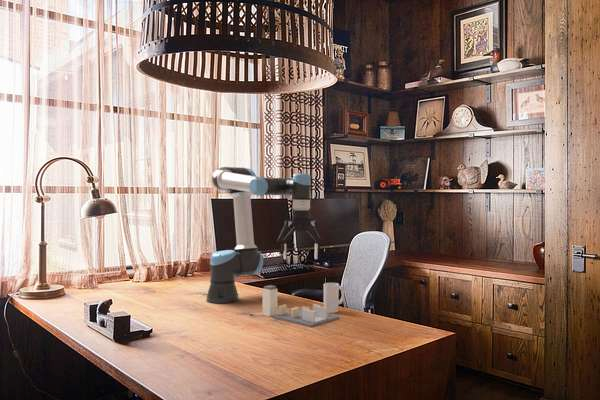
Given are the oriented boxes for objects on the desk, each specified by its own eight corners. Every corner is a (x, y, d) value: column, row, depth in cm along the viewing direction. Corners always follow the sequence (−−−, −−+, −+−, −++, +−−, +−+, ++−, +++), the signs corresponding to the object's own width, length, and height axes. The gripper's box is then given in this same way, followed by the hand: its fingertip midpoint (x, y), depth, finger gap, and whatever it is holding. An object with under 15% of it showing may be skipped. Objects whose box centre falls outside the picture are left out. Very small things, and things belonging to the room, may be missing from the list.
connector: (262, 314, 209) (262, 286, 209) (269, 312, 213) (270, 284, 213) (269, 316, 206) (270, 287, 206) (277, 314, 210) (277, 286, 210)
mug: (327, 313, 212) (328, 285, 212) (320, 310, 218) (320, 283, 218) (347, 311, 216) (348, 284, 216) (340, 308, 222) (340, 281, 222)
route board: (272, 317, 204) (272, 304, 204) (301, 310, 218) (301, 298, 218) (311, 327, 191) (311, 313, 190) (339, 318, 204) (339, 305, 204)
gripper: (273, 209, 206) (272, 260, 206) (331, 210, 210) (330, 260, 211) (271, 208, 213) (270, 257, 214) (327, 209, 217) (326, 257, 218)
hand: (300, 259), depth 212 cm, fingers open, 13 cm apart
